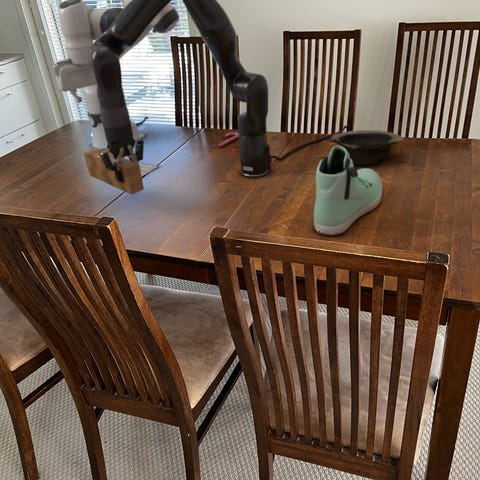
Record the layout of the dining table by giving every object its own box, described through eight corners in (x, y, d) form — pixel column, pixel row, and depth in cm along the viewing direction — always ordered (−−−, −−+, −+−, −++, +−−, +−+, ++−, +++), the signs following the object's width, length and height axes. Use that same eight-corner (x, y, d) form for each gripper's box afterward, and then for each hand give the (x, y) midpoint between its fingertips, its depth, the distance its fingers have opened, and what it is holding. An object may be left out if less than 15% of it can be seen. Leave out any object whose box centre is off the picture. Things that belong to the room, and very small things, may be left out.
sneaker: (389, 187, 148) (396, 123, 138) (356, 242, 123) (361, 168, 112) (346, 181, 154) (350, 119, 144) (306, 232, 129) (307, 161, 118)
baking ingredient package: (112, 178, 168) (138, 163, 180) (113, 179, 168) (138, 164, 180) (133, 181, 165) (157, 165, 176) (133, 182, 165) (158, 166, 176)
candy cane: (208, 146, 191) (208, 142, 190) (230, 134, 201) (230, 130, 201) (220, 148, 188) (220, 144, 187) (242, 136, 198) (242, 132, 197)
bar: (89, 175, 154) (83, 151, 149) (101, 170, 156) (96, 147, 152) (131, 194, 139) (126, 169, 135) (144, 189, 141) (139, 163, 137)
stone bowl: (361, 175, 156) (361, 148, 152) (316, 158, 177) (315, 133, 172) (418, 157, 165) (419, 130, 161) (369, 142, 185) (369, 118, 181)
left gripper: (57, 63, 147) (68, 108, 154) (114, 51, 159) (121, 93, 166) (47, 61, 151) (58, 105, 158) (103, 49, 163) (112, 91, 170)
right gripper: (101, 131, 125) (114, 190, 134) (145, 117, 134) (155, 173, 142) (86, 126, 130) (100, 184, 139) (130, 112, 138) (141, 167, 147)
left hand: (91, 99), depth 162 cm, fingers open, 8 cm apart
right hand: (128, 178), depth 141 cm, fingers closed on bar, 4 cm apart
